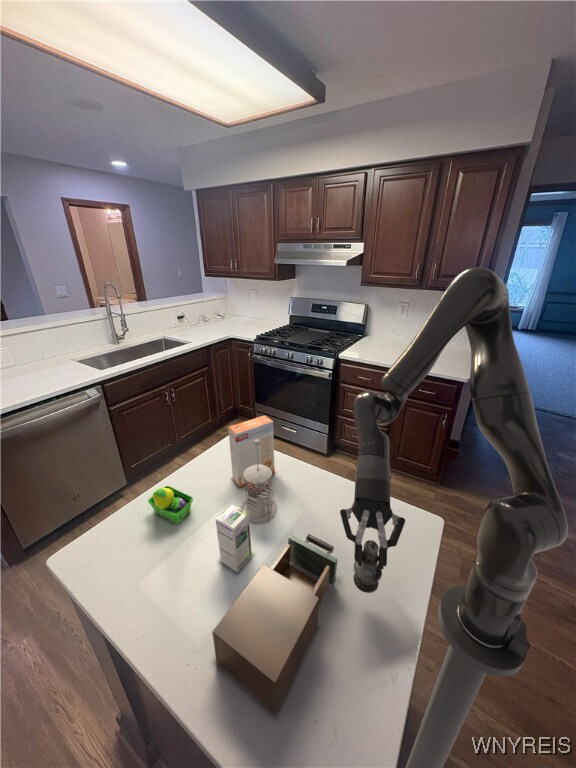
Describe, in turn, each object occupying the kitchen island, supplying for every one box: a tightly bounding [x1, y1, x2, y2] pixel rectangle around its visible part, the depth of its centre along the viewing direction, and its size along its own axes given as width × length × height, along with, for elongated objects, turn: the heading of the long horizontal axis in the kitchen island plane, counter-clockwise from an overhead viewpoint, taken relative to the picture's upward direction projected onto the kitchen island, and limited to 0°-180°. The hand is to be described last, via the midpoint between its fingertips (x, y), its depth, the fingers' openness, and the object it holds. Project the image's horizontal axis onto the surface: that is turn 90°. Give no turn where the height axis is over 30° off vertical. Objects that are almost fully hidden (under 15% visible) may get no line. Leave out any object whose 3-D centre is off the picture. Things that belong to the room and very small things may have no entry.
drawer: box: [270, 533, 338, 606], centre depth 71 cm, size 19×12×8 cm, turn 148°
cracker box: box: [227, 414, 275, 488], centre depth 105 cm, size 14×6×21 cm, turn 124°
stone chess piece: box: [352, 539, 383, 594], centre depth 65 cm, size 6×6×12 cm
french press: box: [242, 439, 276, 524], centre depth 89 cm, size 10×12×25 cm
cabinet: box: [212, 563, 320, 715], centre depth 60 cm, size 16×14×10 cm
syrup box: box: [215, 504, 253, 573], centre depth 77 cm, size 6×6×14 cm
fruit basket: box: [147, 485, 194, 524], centre depth 91 cm, size 11×9×11 cm
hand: (369, 566), depth 63 cm, fingers closed on stone chess piece, 3 cm apart
